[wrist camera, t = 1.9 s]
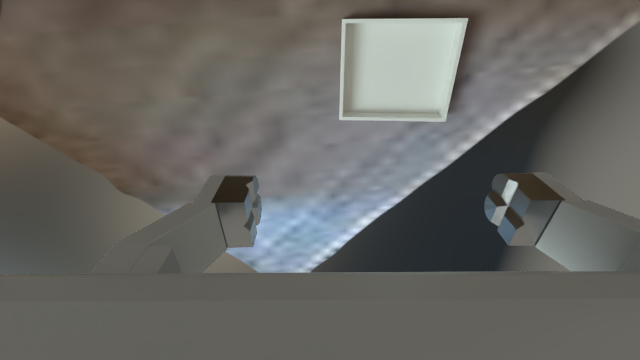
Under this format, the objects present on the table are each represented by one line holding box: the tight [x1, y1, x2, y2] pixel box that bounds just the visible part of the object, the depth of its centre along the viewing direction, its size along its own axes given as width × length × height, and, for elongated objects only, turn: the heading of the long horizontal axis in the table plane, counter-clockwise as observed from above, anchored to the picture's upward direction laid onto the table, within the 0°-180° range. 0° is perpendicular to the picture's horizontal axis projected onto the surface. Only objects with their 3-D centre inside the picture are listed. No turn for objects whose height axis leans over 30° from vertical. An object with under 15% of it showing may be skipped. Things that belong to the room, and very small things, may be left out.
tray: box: [339, 18, 468, 122], centre depth 33 cm, size 13×11×2 cm
